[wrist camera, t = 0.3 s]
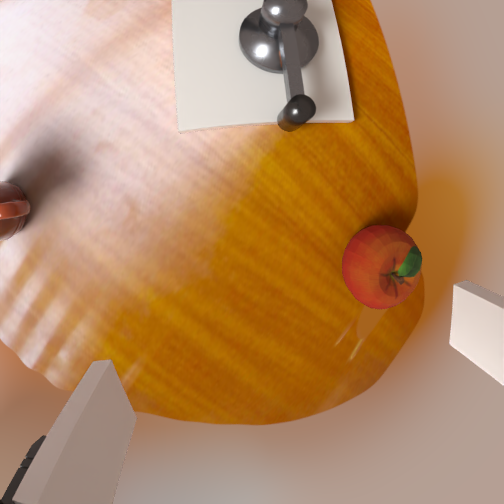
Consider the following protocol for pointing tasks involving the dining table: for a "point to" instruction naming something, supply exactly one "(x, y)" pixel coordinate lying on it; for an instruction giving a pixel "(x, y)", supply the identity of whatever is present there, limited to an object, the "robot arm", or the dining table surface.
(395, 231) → the fruit
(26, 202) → the mug
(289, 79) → the lever handle
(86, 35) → the dining table surface
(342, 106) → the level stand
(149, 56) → the dining table surface
